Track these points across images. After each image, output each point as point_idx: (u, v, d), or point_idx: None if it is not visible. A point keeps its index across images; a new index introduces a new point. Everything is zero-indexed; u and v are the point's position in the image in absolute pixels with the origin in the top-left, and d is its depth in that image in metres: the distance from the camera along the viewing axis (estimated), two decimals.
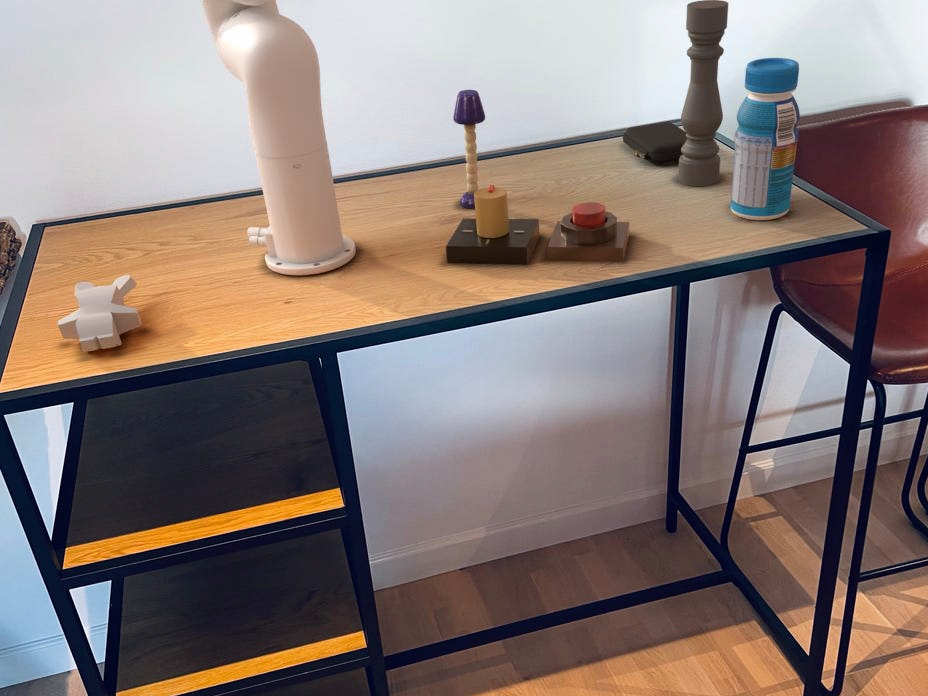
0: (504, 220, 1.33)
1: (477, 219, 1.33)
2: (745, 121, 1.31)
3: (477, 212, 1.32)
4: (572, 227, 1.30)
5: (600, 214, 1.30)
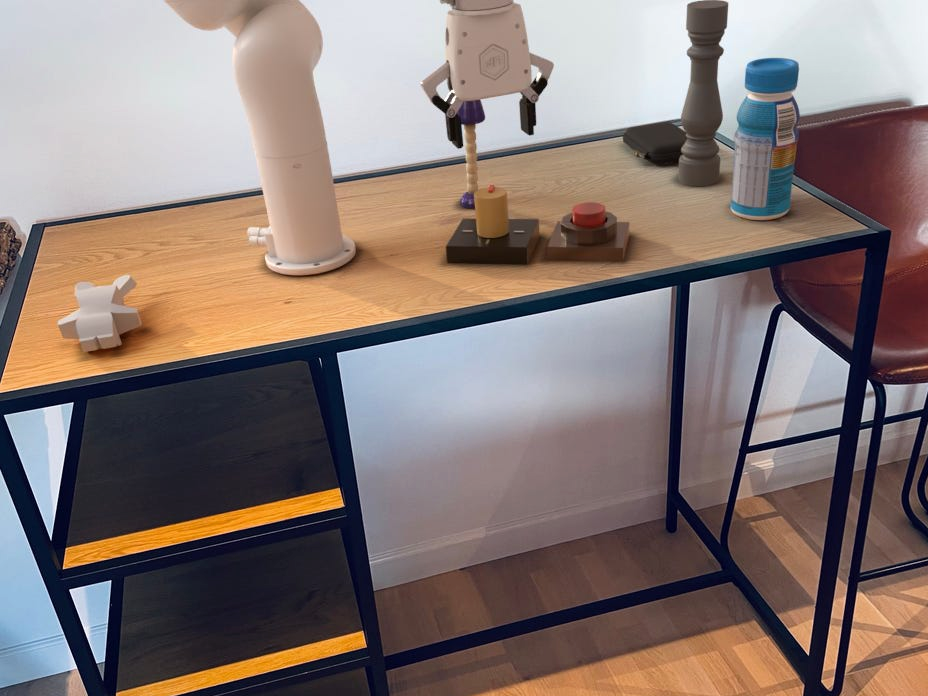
0: (504, 220, 1.33)
1: (477, 219, 1.33)
2: (745, 121, 1.31)
3: (477, 212, 1.32)
4: (572, 227, 1.30)
5: (600, 214, 1.30)
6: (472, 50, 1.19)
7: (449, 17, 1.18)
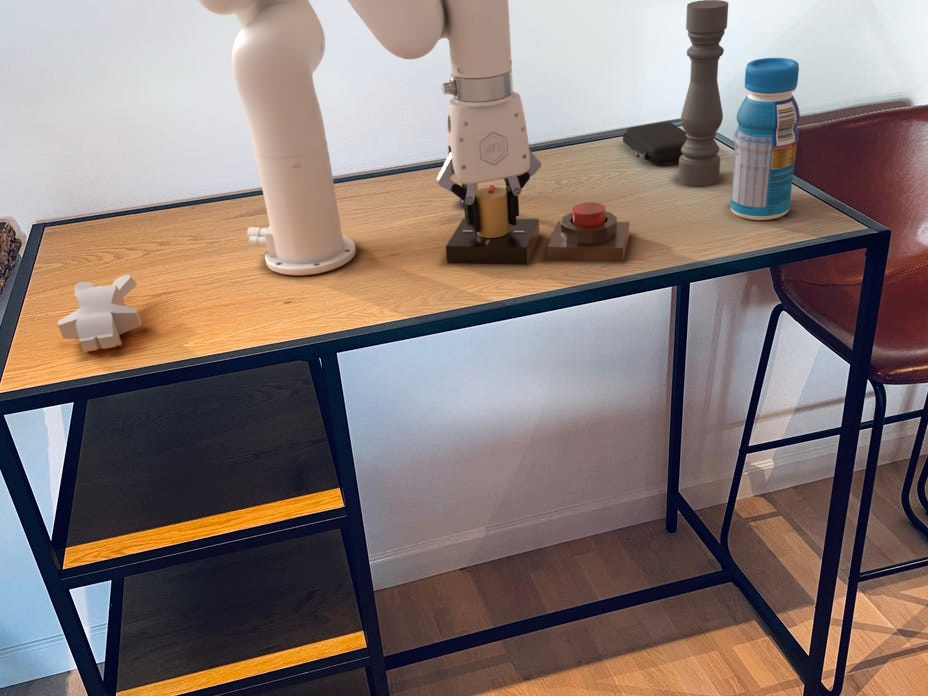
0: (505, 220, 1.33)
1: None
2: (745, 121, 1.31)
3: None
4: (572, 227, 1.30)
5: (600, 214, 1.30)
6: (473, 138, 1.24)
7: (451, 107, 1.23)
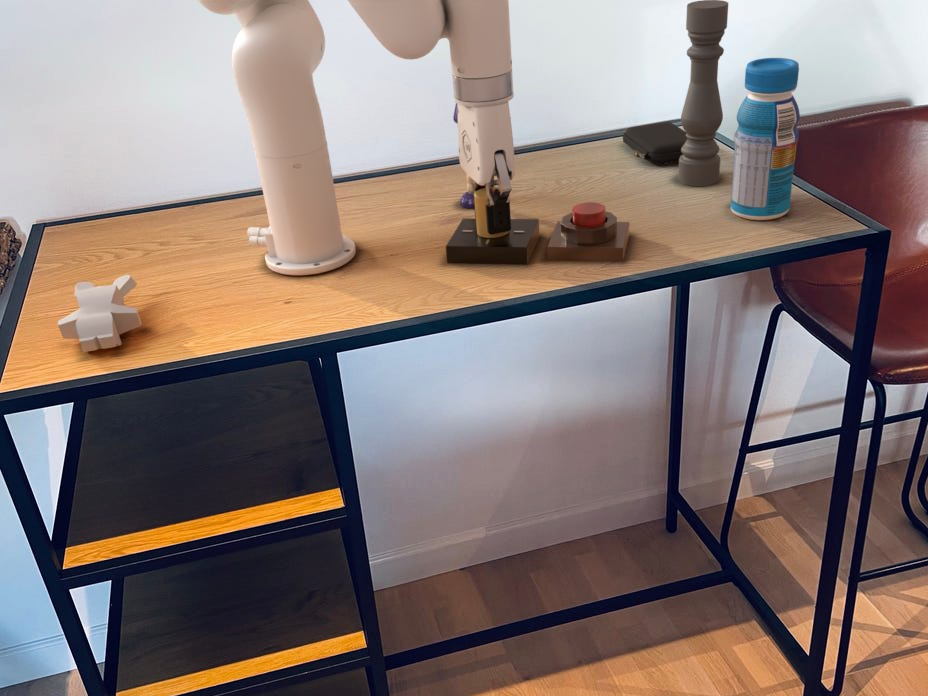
0: (481, 222, 1.32)
1: None
2: (745, 121, 1.31)
3: None
4: (572, 227, 1.30)
5: (600, 214, 1.30)
6: (460, 127, 1.28)
7: None
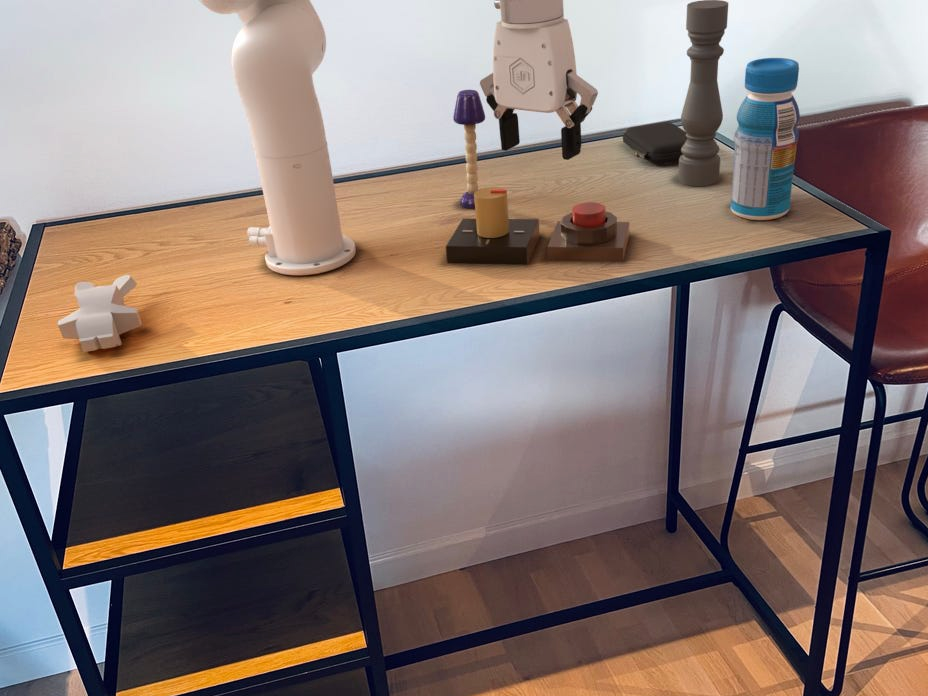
0: (481, 222, 1.32)
1: None
2: (745, 121, 1.31)
3: None
4: (572, 227, 1.30)
5: (600, 214, 1.30)
6: (504, 60, 1.21)
7: None
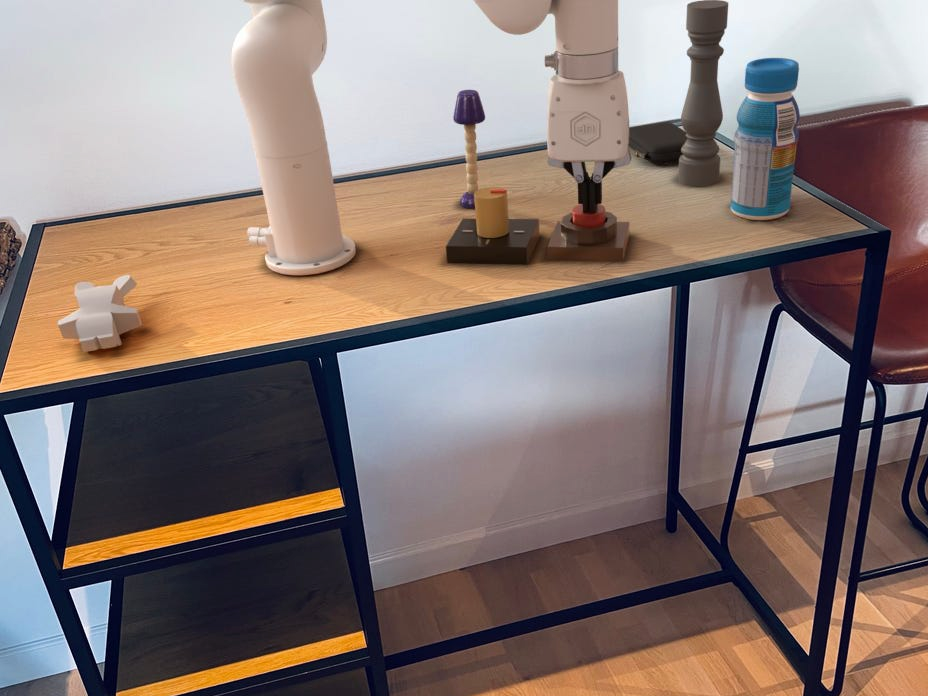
0: (481, 222, 1.32)
1: None
2: (745, 121, 1.31)
3: None
4: (572, 227, 1.30)
5: (600, 215, 1.30)
6: (564, 115, 1.22)
7: (550, 81, 1.22)
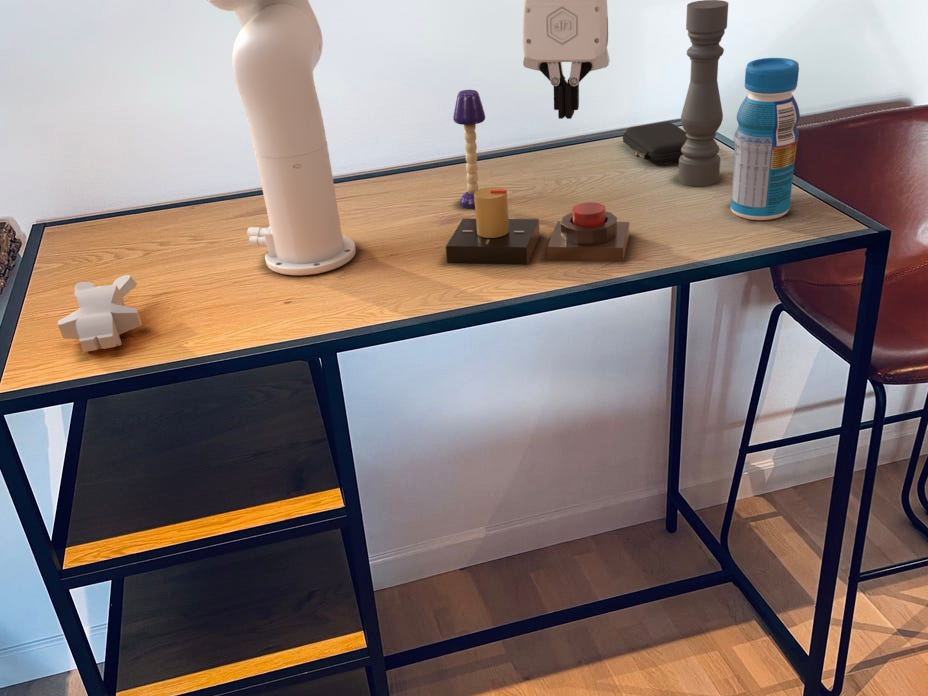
0: (481, 222, 1.32)
1: None
2: (745, 121, 1.31)
3: None
4: (572, 227, 1.30)
5: (600, 214, 1.30)
6: (540, 10, 1.18)
7: None
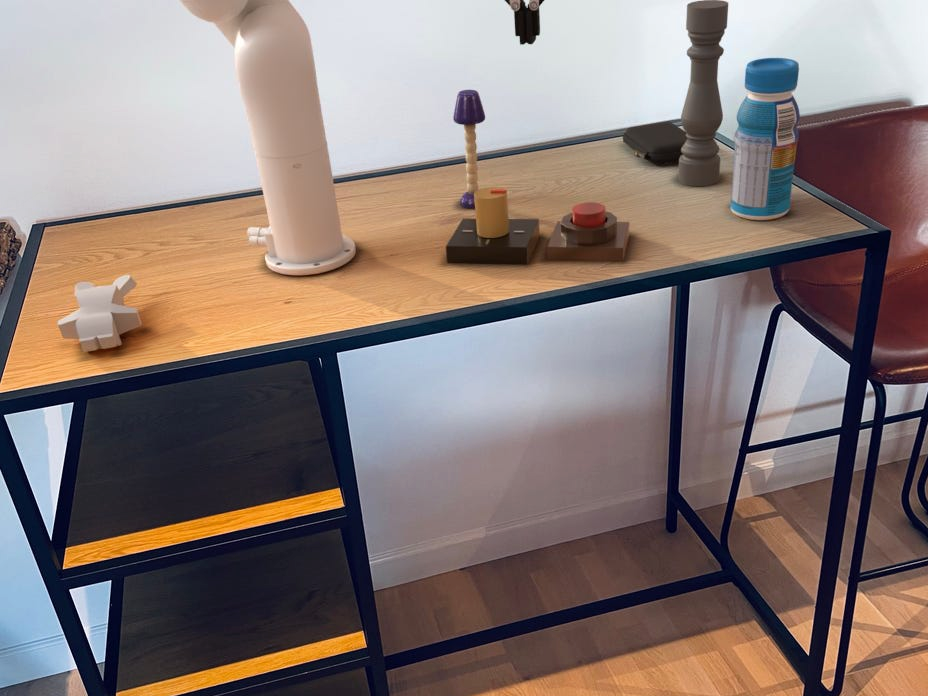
0: (481, 222, 1.32)
1: None
2: (745, 121, 1.31)
3: None
4: (572, 227, 1.30)
5: (600, 214, 1.30)
6: None
7: None
